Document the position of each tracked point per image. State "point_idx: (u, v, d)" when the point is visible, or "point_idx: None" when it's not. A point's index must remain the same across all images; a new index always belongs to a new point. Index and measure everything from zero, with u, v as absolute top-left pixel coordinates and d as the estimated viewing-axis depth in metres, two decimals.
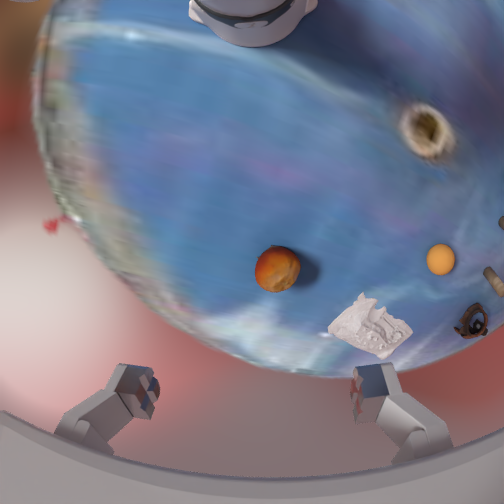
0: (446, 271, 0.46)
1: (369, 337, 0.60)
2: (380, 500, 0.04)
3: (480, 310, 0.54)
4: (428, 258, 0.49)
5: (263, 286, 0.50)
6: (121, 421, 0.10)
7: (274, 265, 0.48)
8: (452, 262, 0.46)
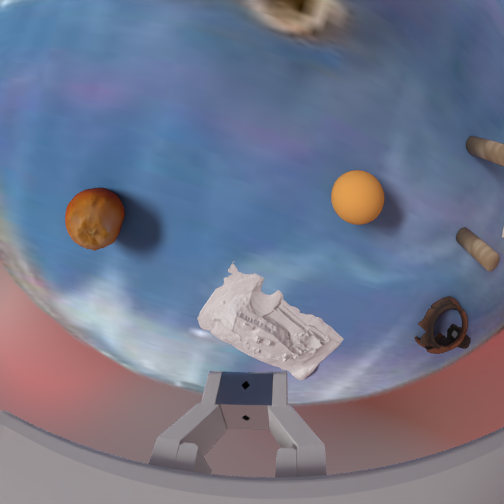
0: (366, 212, 0.28)
1: (256, 338, 0.40)
2: (380, 500, 0.04)
3: (453, 306, 0.35)
4: (331, 194, 0.31)
5: (71, 237, 0.32)
6: (216, 435, 0.09)
7: (74, 204, 0.30)
8: (376, 195, 0.28)
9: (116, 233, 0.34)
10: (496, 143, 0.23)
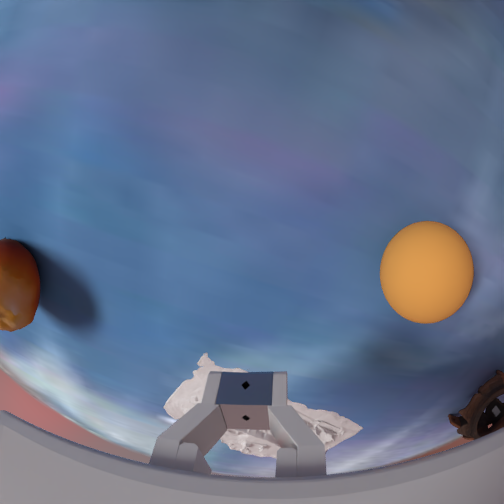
0: (446, 312, 0.13)
1: (243, 444, 0.25)
2: (380, 500, 0.04)
3: None
4: (383, 269, 0.15)
5: None
6: (216, 435, 0.09)
7: None
8: (468, 279, 0.12)
9: (30, 312, 0.19)
10: None
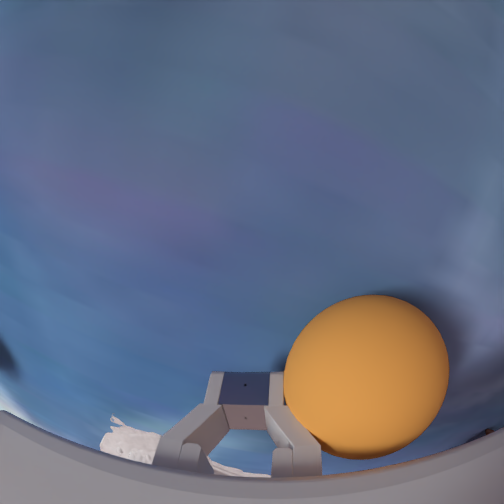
0: (383, 455, 0.07)
1: None
2: (380, 500, 0.04)
3: None
4: (284, 377, 0.09)
5: None
6: (219, 435, 0.09)
7: None
8: (430, 412, 0.06)
9: None
10: None
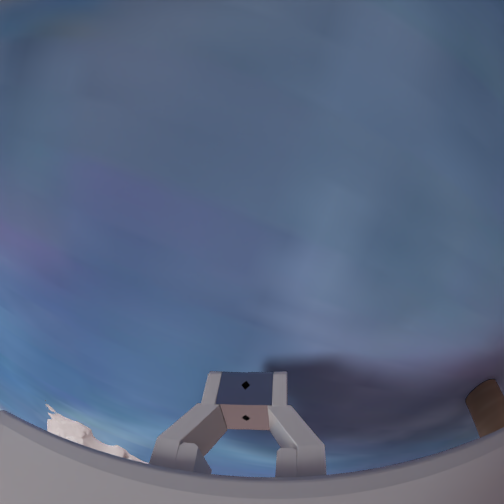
0: None
1: None
2: (380, 500, 0.04)
3: None
4: None
5: None
6: (216, 435, 0.09)
7: None
8: None
9: None
10: None
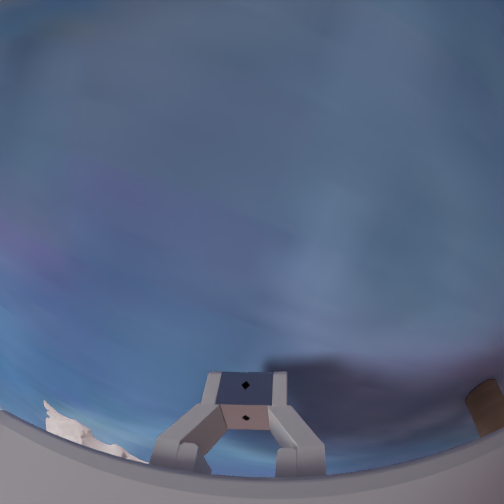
0: None
1: None
2: (380, 500, 0.04)
3: None
4: None
5: None
6: (216, 435, 0.09)
7: None
8: None
9: None
10: None
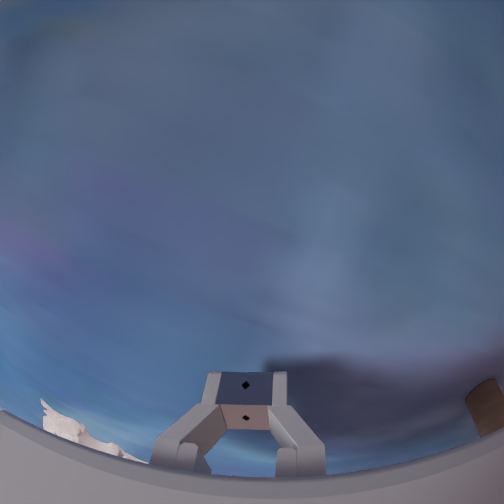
0: None
1: None
2: (380, 500, 0.04)
3: None
4: None
5: None
6: (216, 435, 0.09)
7: None
8: None
9: None
10: None
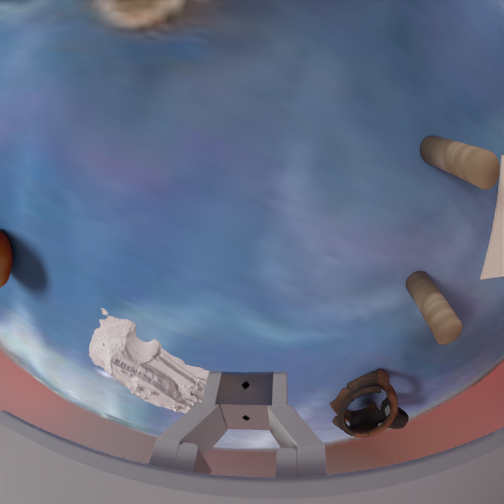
0: None
1: (136, 386, 0.32)
2: (380, 500, 0.04)
3: (375, 389, 0.28)
4: None
5: None
6: (216, 435, 0.09)
7: None
8: None
9: (4, 276, 0.26)
10: (464, 146, 0.15)
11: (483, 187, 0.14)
